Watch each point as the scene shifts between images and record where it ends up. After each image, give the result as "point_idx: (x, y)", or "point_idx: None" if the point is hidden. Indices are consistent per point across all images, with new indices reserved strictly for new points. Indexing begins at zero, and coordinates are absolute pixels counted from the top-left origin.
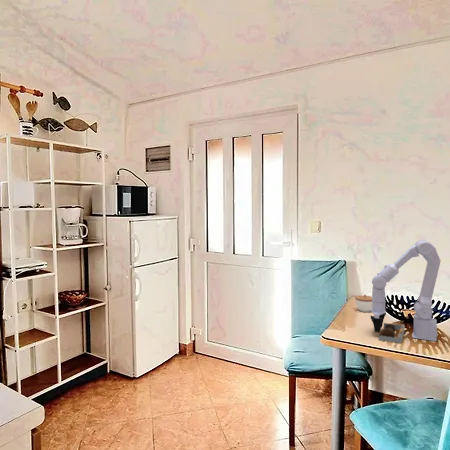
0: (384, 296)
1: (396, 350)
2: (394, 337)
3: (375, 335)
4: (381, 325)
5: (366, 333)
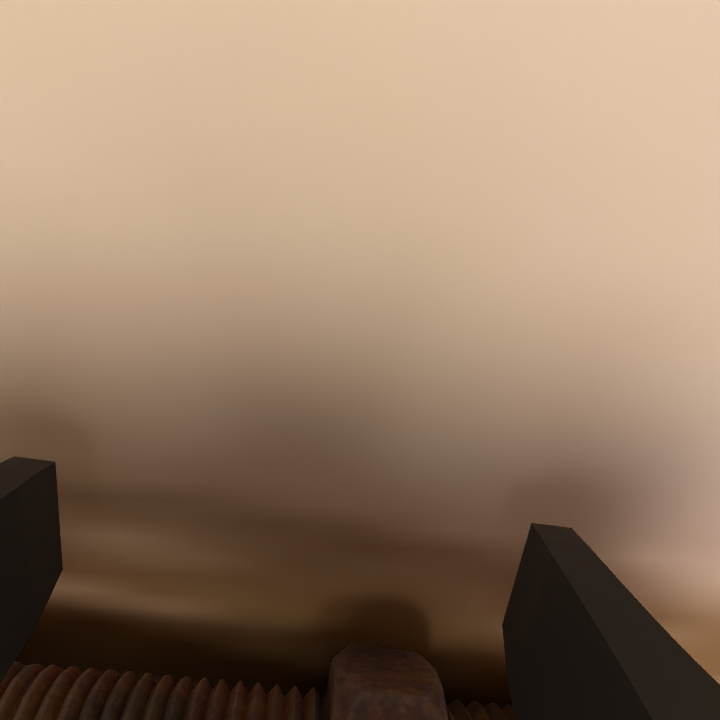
0: None
1: None
2: None
3: (19, 417)
4: (515, 683)
5: (66, 177)
